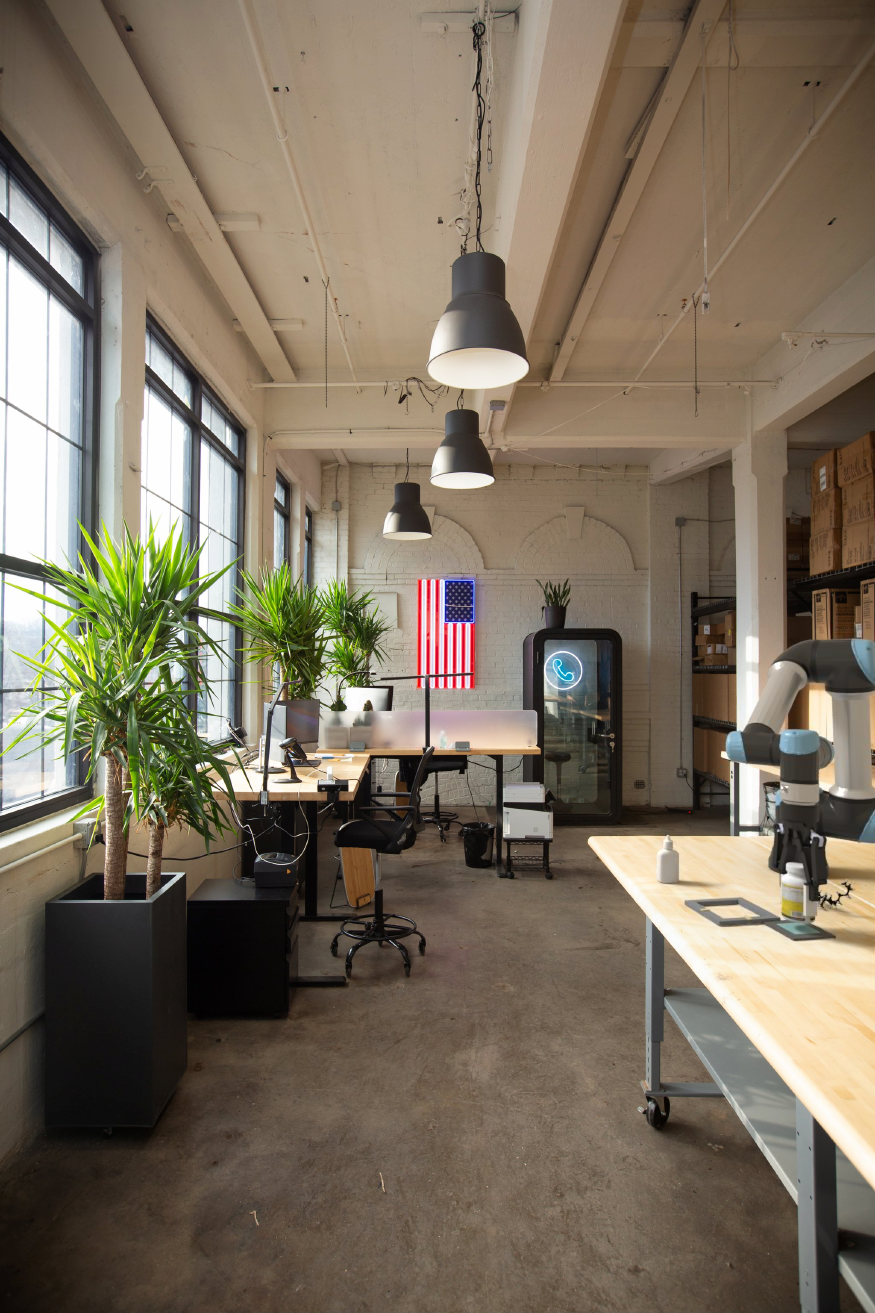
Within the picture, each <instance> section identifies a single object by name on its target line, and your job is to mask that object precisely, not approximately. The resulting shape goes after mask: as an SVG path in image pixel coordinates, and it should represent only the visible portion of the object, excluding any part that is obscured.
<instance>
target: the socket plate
mask: <svg viewBox="0 0 875 1313" xmlns="http://www.w3.org/2000/svg"><path fill="white" fill-rule="evenodd" d="M723 905H724V906H725V905H727V906H728V905H739V906H741V907H743V908H744V909H747V910H748V911H750V912H752V913H754V914H756V916H748V915H743V916H741V917H729V918H728V917H727V918H725V917H722V916H720V915H718V914H716V913H715V912H713V911H712V910H711V909H710V908H707V906H723ZM684 906H686V907H688V908H690V909H691V910H693V911H694V912H695V913H698V914H699V915H701V916H702V917H703V918H706V919H707V920H709V921H710V922H713V923H714V924H715V925H717V926H718V927H725V926H741V925H744V926H745V925H756V924H757V925H758V924H763V923H762V921H778V920H782V919H781V917H780V916H778V915H776V914H774V913H773V912H771V911H769V910H767V909H765V908H763V907H761V906H760V905H757V904H755V903H753V902H752V901H749V900H747V899H745V898H744V897H741V896H739V897H737V896H736V897H724V898H723V897H722V898H721V897H720V898H705V899H685V900H684ZM757 915H758V916H757Z"/></svg>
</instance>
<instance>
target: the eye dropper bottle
mask: <svg viewBox="0 0 875 1313" xmlns="http://www.w3.org/2000/svg"><path fill="white" fill-rule="evenodd" d="M662 842H663V843H662V845H663V846H662V847H663V848H662V849H660V850H658V851H657V853H656V881H657V882H658V883H659V882H660V883H661V884H674V883H675V884H676V883H678V882H679V881H680V853H679V852H678V851H677V850H675V849H674V841H673V840H671V835H668V834H667V835H666V837H665V839H663V840H662Z"/></svg>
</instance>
